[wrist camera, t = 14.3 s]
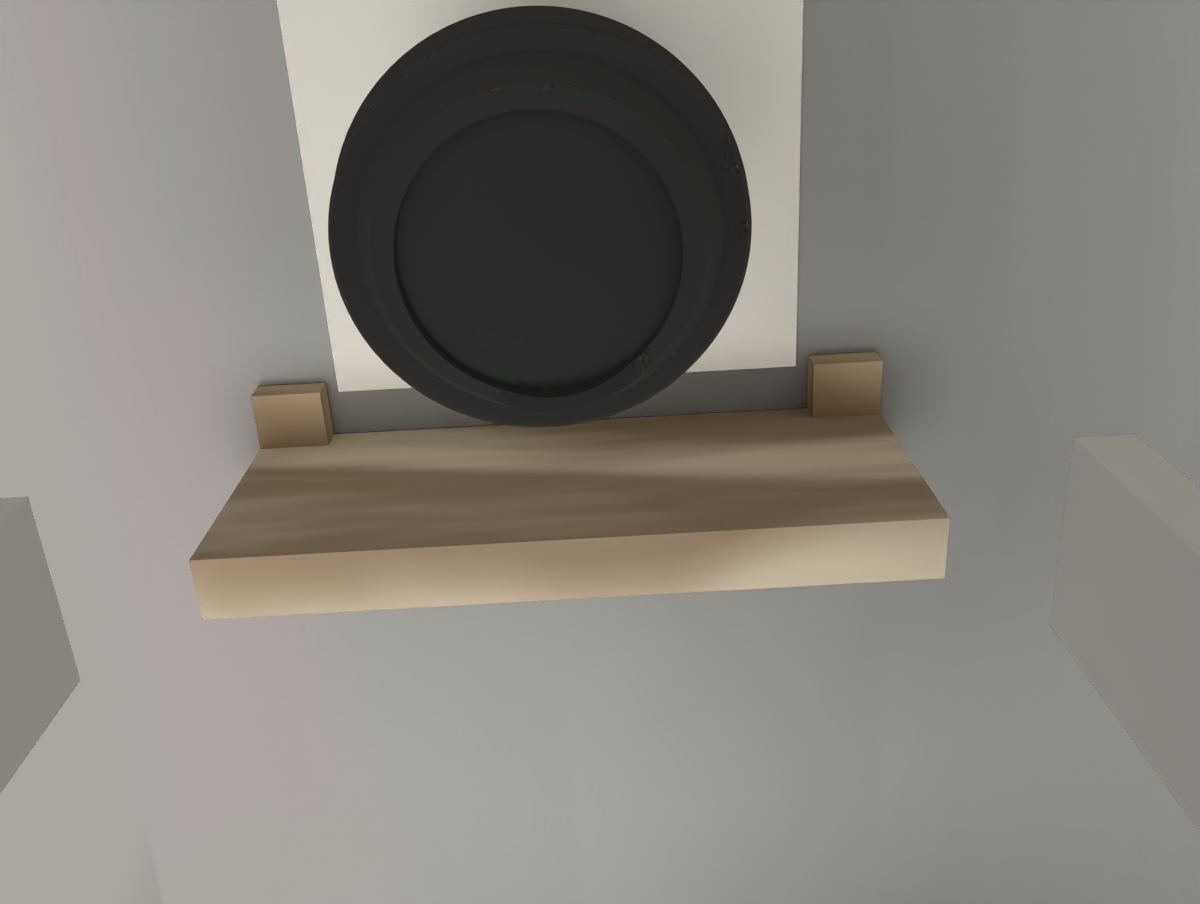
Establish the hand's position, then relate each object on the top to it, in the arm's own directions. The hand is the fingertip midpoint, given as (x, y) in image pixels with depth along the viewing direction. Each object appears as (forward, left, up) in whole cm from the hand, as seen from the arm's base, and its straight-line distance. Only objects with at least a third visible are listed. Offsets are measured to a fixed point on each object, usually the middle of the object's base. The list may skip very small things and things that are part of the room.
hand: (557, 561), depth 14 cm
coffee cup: (+2, 0, -24) cm, 24 cm away
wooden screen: (-8, +4, -25) cm, 27 cm away
